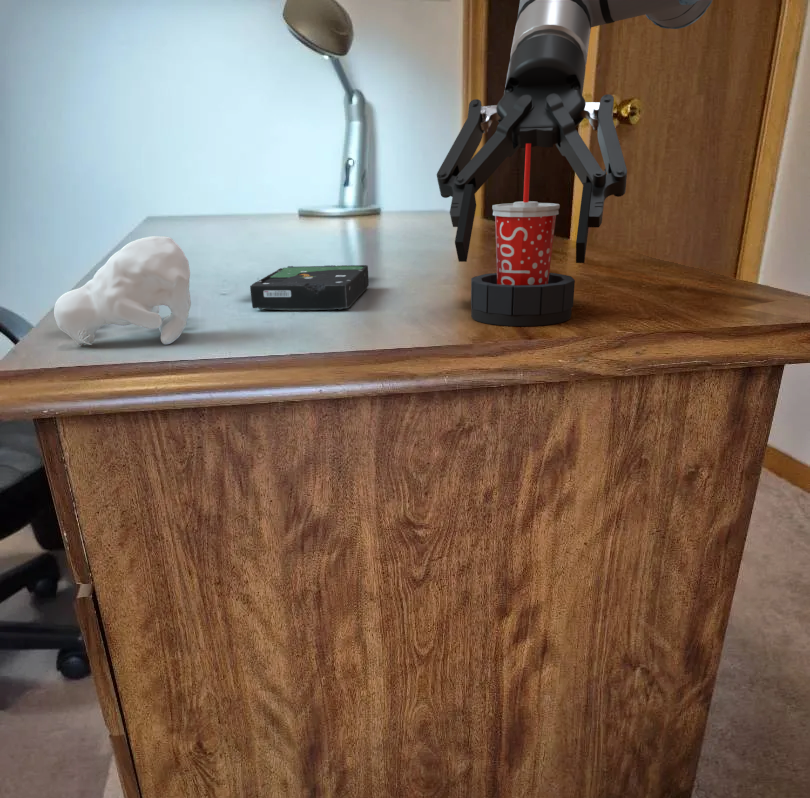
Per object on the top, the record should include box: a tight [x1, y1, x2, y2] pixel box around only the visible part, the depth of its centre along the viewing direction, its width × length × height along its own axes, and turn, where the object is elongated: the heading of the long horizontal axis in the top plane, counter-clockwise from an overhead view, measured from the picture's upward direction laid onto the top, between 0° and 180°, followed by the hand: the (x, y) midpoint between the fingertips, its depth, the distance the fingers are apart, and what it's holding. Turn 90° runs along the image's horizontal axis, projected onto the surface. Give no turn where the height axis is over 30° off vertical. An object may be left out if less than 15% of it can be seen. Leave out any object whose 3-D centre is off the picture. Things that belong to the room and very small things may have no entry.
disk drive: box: [249, 264, 370, 311], centre depth 87 cm, size 10×3×15 cm
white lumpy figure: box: [53, 235, 192, 346], centre depth 68 cm, size 6×8×12 cm
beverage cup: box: [491, 143, 561, 285], centre depth 73 cm, size 6×6×14 cm
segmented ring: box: [470, 272, 576, 327], centre depth 76 cm, size 10×10×4 cm
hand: (519, 252), depth 71 cm, fingers open, 10 cm apart
